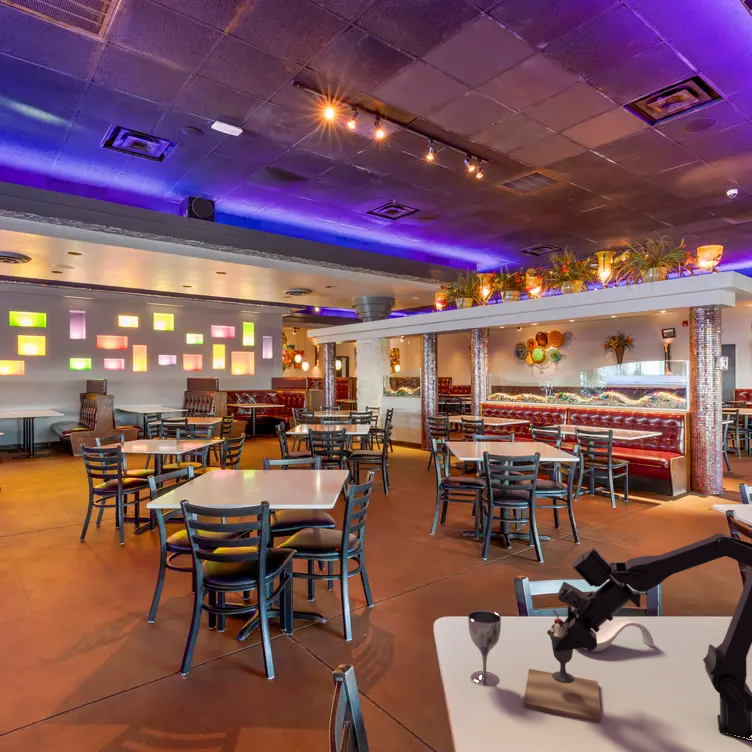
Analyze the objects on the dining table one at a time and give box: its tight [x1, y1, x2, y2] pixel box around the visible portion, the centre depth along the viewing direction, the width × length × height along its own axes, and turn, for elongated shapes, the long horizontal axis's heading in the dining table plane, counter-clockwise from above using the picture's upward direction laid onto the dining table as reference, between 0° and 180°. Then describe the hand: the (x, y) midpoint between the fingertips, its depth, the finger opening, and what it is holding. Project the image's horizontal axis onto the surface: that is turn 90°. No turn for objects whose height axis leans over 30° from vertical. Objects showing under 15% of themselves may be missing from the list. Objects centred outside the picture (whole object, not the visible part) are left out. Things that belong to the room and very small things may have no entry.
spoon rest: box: [581, 617, 655, 653], centre depth 148 cm, size 24×12×7 cm, turn 97°
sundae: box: [547, 609, 575, 683], centre depth 122 cm, size 7×7×15 cm
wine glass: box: [467, 609, 502, 687], centre depth 130 cm, size 8×8×15 cm
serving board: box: [522, 668, 602, 724], centre depth 122 cm, size 16×16×1 cm
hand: (556, 643), depth 123 cm, fingers closed on sundae, 6 cm apart
